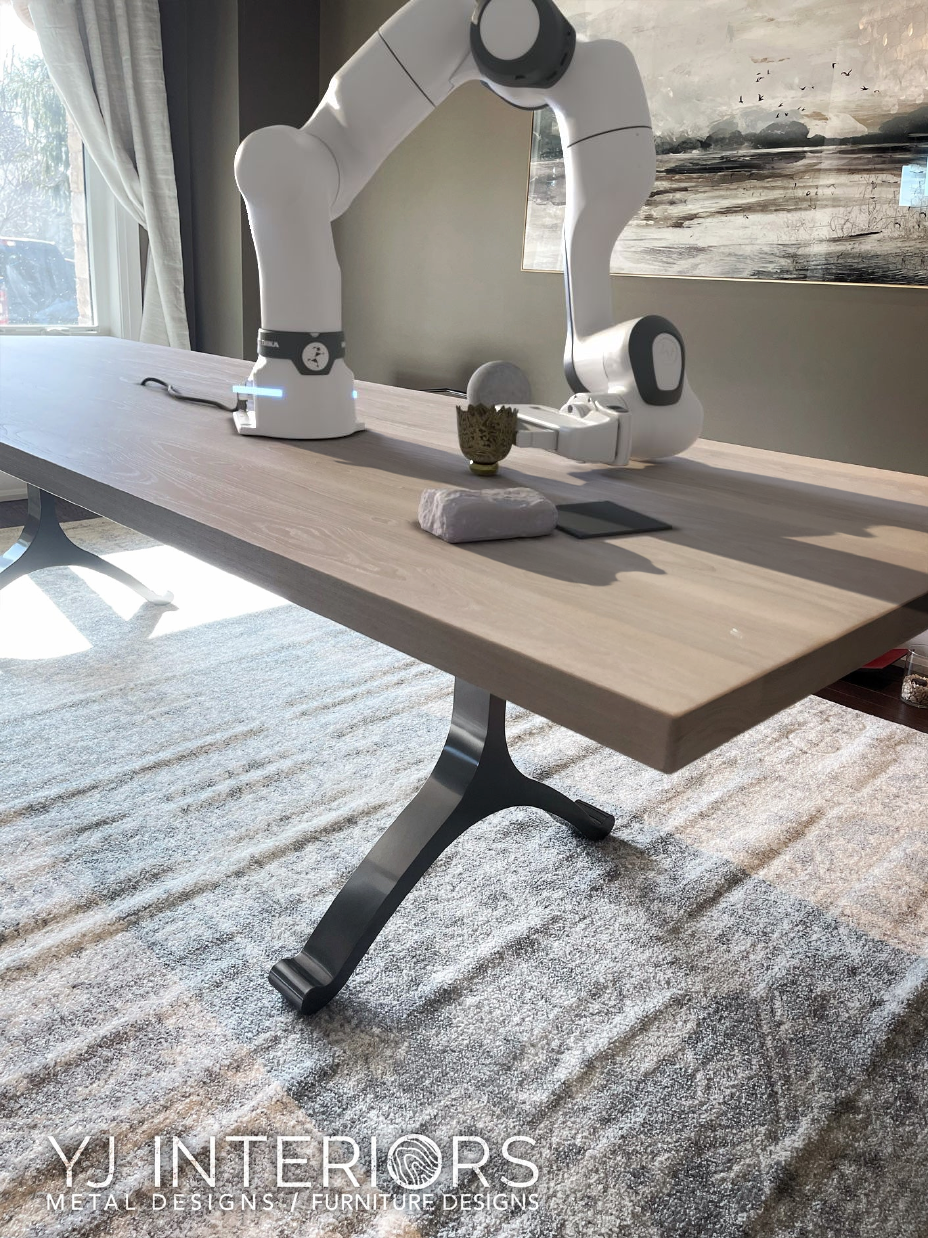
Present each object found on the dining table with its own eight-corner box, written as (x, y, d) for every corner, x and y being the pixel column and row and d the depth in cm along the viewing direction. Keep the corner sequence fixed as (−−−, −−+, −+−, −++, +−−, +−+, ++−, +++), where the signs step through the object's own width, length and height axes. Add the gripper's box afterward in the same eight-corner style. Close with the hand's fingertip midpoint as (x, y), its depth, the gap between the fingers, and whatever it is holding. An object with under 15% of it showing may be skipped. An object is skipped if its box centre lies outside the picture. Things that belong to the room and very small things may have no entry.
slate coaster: (521, 510, 99) (521, 508, 99) (607, 503, 104) (608, 500, 103) (579, 538, 90) (580, 535, 90) (671, 528, 95) (672, 525, 94)
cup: (483, 464, 120) (486, 400, 118) (526, 475, 115) (531, 408, 113) (441, 471, 115) (443, 405, 113) (484, 482, 111) (487, 413, 108)
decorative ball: (505, 419, 156) (509, 356, 152) (541, 429, 148) (546, 363, 144) (453, 422, 151) (456, 357, 147) (487, 433, 143) (491, 364, 139)
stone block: (408, 536, 94) (447, 544, 85) (408, 487, 93) (446, 489, 84) (516, 532, 99) (563, 539, 90) (516, 486, 98) (564, 488, 89)
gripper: (549, 391, 128) (457, 393, 122) (641, 415, 111) (541, 419, 105) (545, 438, 130) (455, 442, 124) (635, 468, 113) (537, 475, 107)
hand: (495, 432), depth 114 cm, fingers open, 8 cm apart
